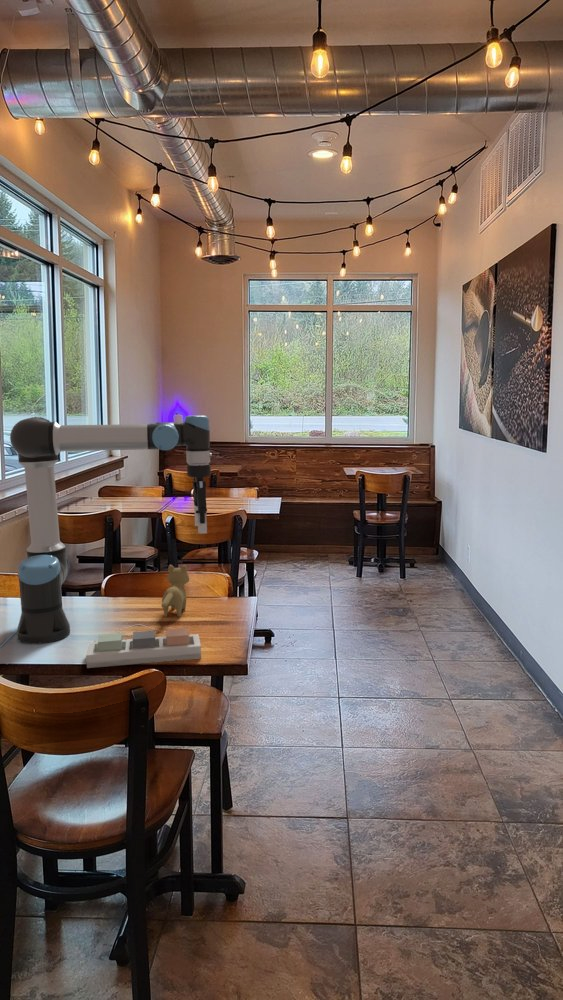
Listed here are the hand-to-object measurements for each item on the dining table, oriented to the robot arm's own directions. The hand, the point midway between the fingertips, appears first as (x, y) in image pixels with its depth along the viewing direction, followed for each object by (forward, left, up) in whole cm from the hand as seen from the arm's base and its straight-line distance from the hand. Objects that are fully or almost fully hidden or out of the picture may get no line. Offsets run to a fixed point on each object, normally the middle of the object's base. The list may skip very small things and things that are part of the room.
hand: (200, 529), depth 226 cm
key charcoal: (-19, -37, -24) cm, 47 cm away
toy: (-10, -1, -28) cm, 30 cm away
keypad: (-19, -37, -28) cm, 49 cm away
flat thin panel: (-20, -16, -28) cm, 38 cm away
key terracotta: (-10, -37, -24) cm, 45 cm away
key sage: (-28, -37, -24) cm, 52 cm away
